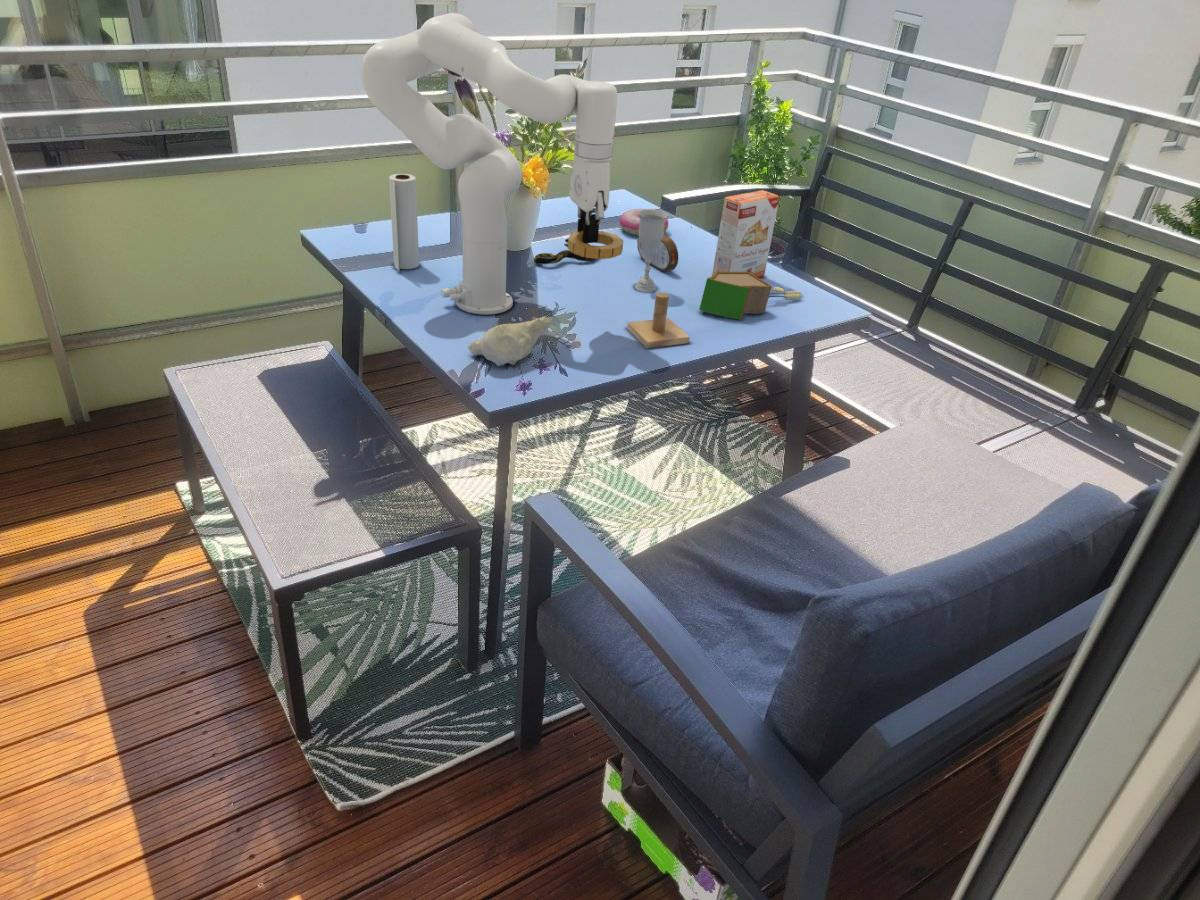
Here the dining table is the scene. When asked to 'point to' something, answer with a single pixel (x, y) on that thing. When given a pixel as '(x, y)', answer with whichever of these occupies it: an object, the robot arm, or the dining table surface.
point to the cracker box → (746, 233)
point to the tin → (662, 254)
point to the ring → (590, 251)
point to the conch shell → (510, 341)
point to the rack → (658, 327)
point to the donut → (633, 221)
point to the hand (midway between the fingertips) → (587, 239)
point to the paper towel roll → (404, 221)
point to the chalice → (650, 242)
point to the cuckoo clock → (738, 294)
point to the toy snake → (558, 256)
